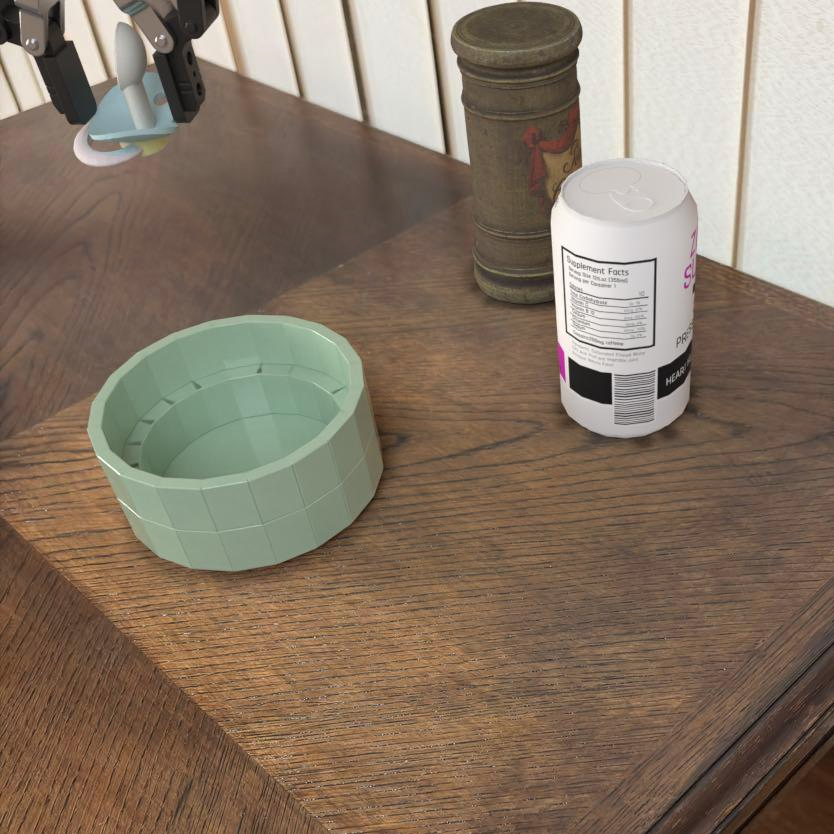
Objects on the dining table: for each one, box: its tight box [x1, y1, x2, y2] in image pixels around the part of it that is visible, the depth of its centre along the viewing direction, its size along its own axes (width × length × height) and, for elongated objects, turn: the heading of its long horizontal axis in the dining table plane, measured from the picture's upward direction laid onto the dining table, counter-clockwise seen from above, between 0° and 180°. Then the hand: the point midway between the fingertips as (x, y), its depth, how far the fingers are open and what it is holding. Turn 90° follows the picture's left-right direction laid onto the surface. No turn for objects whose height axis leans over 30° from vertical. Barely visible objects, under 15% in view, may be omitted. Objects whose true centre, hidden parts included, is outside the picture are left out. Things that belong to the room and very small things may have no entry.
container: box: [450, 1, 584, 305], centre depth 74 cm, size 9×9×18 cm
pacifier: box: [73, 21, 180, 168], centre depth 56 cm, size 7×6×6 cm
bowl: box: [86, 314, 384, 573], centre depth 63 cm, size 16×16×7 cm
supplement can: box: [551, 157, 699, 439], centre depth 64 cm, size 8×8×15 cm
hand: (135, 116), depth 57 cm, fingers closed on pacifier, 5 cm apart
